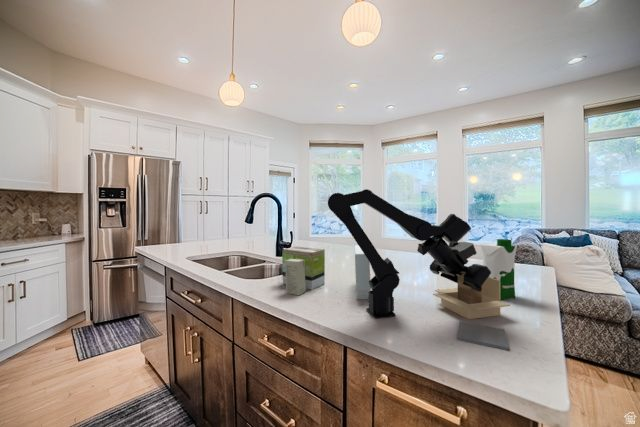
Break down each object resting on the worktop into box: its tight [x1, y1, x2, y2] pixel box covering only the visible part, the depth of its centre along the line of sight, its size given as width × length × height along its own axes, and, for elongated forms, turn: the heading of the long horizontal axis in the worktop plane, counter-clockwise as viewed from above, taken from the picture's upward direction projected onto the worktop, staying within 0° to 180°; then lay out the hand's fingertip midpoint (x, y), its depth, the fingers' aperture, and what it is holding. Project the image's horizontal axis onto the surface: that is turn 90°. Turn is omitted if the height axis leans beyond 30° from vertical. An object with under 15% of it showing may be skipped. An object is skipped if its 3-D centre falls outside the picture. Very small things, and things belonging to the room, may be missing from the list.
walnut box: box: [457, 274, 482, 304], centre depth 80 cm, size 4×5×11 cm
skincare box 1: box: [285, 259, 307, 296], centre depth 98 cm, size 6×4×12 cm
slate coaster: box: [456, 320, 510, 351], centre depth 64 cm, size 10×10×1 cm
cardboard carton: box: [432, 277, 511, 320], centre depth 80 cm, size 14×17×10 cm
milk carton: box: [480, 238, 518, 301], centre depth 93 cm, size 9×9×20 cm
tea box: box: [281, 246, 326, 291], centre depth 109 cm, size 15×10×15 cm, turn 58°
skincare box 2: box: [354, 244, 372, 301], centre depth 100 cm, size 21×5×16 cm, turn 172°
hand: (473, 287), depth 80 cm, fingers closed on walnut box, 5 cm apart
